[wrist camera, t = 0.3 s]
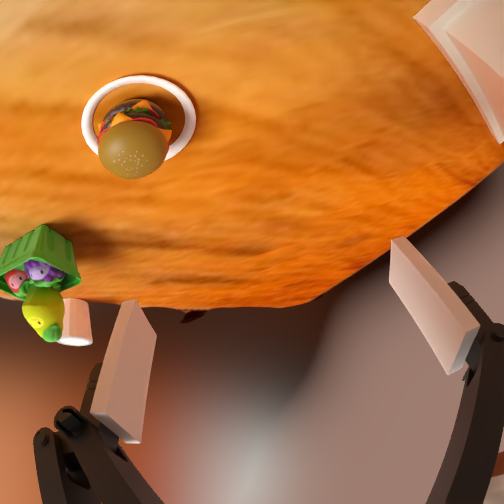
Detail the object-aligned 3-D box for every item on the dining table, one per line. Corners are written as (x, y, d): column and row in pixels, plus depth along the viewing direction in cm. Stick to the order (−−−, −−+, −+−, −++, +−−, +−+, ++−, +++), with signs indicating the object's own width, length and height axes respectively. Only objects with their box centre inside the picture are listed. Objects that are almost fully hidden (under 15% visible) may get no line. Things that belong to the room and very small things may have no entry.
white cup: (78, 294, 44) (78, 335, 41) (98, 307, 50) (99, 344, 47) (48, 300, 44) (47, 339, 41) (70, 312, 50) (70, 347, 47)
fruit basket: (43, 213, 26) (29, 318, 21) (93, 247, 34) (92, 339, 29) (-7, 246, 28) (-19, 333, 23) (39, 271, 36) (35, 350, 30)
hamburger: (213, 162, 27) (221, 209, 25) (88, 179, 25) (80, 228, 23) (218, 42, 17) (229, 78, 14) (49, 70, 15) (22, 114, 12)
